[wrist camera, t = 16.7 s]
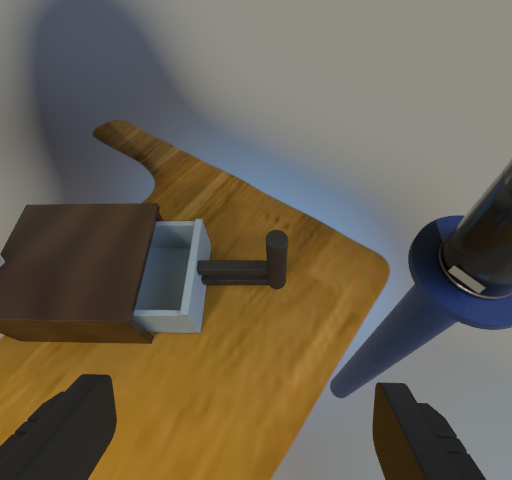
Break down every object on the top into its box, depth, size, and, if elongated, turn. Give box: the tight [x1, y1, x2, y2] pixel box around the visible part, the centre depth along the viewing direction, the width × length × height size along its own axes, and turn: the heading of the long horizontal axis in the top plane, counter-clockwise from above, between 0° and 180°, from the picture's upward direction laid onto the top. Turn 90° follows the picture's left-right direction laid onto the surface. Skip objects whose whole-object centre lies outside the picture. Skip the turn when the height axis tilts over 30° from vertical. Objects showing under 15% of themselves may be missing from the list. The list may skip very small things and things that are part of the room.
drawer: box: [133, 219, 288, 333], centre depth 34 cm, size 23×11×10 cm, turn 88°
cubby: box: [0, 203, 163, 344], centre depth 36 cm, size 16×14×8 cm
